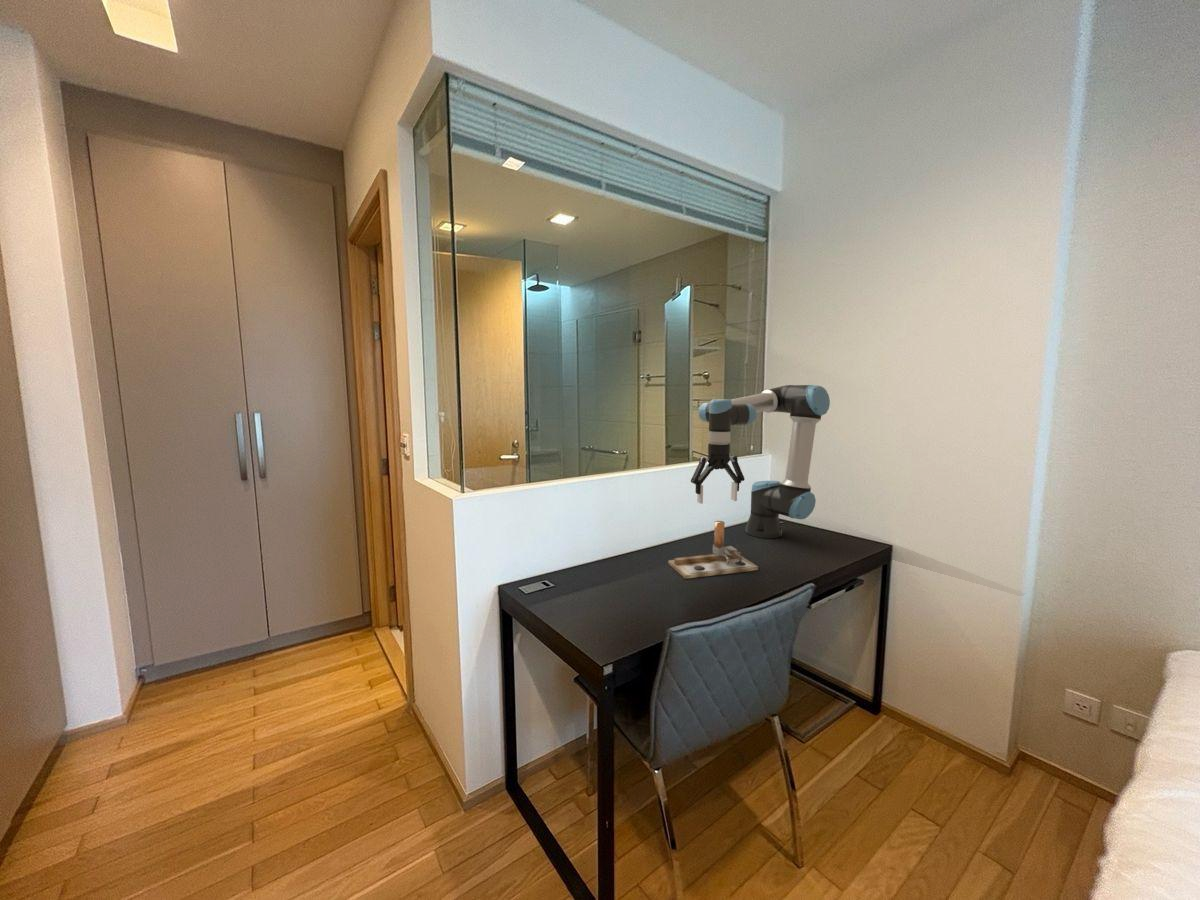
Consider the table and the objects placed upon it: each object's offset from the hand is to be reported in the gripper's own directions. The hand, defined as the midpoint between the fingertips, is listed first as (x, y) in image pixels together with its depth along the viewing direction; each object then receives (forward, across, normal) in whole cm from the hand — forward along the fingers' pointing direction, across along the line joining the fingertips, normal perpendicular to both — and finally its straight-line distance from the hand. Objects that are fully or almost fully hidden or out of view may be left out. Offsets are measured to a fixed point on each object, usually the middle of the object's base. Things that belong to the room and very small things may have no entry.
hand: (717, 501), depth 172 cm
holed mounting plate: (+23, +3, +4) cm, 23 cm away
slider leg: (+21, -1, +3) cm, 21 cm away
